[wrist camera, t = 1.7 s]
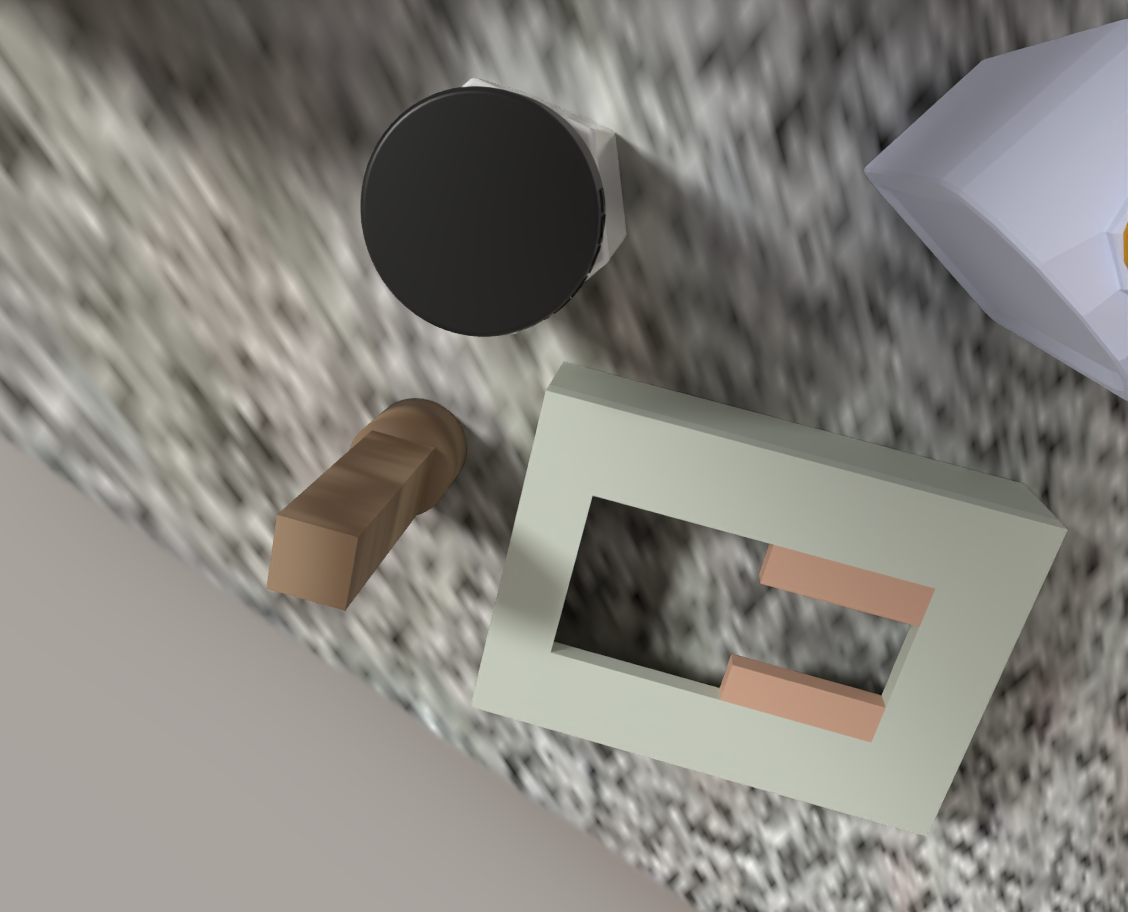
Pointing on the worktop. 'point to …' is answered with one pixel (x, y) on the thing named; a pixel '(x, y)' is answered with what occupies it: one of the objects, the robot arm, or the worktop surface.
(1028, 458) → the worktop surface
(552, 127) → the jar
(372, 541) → the bolt peg
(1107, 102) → the soap bottle
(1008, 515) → the keyhole box
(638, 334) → the worktop surface
